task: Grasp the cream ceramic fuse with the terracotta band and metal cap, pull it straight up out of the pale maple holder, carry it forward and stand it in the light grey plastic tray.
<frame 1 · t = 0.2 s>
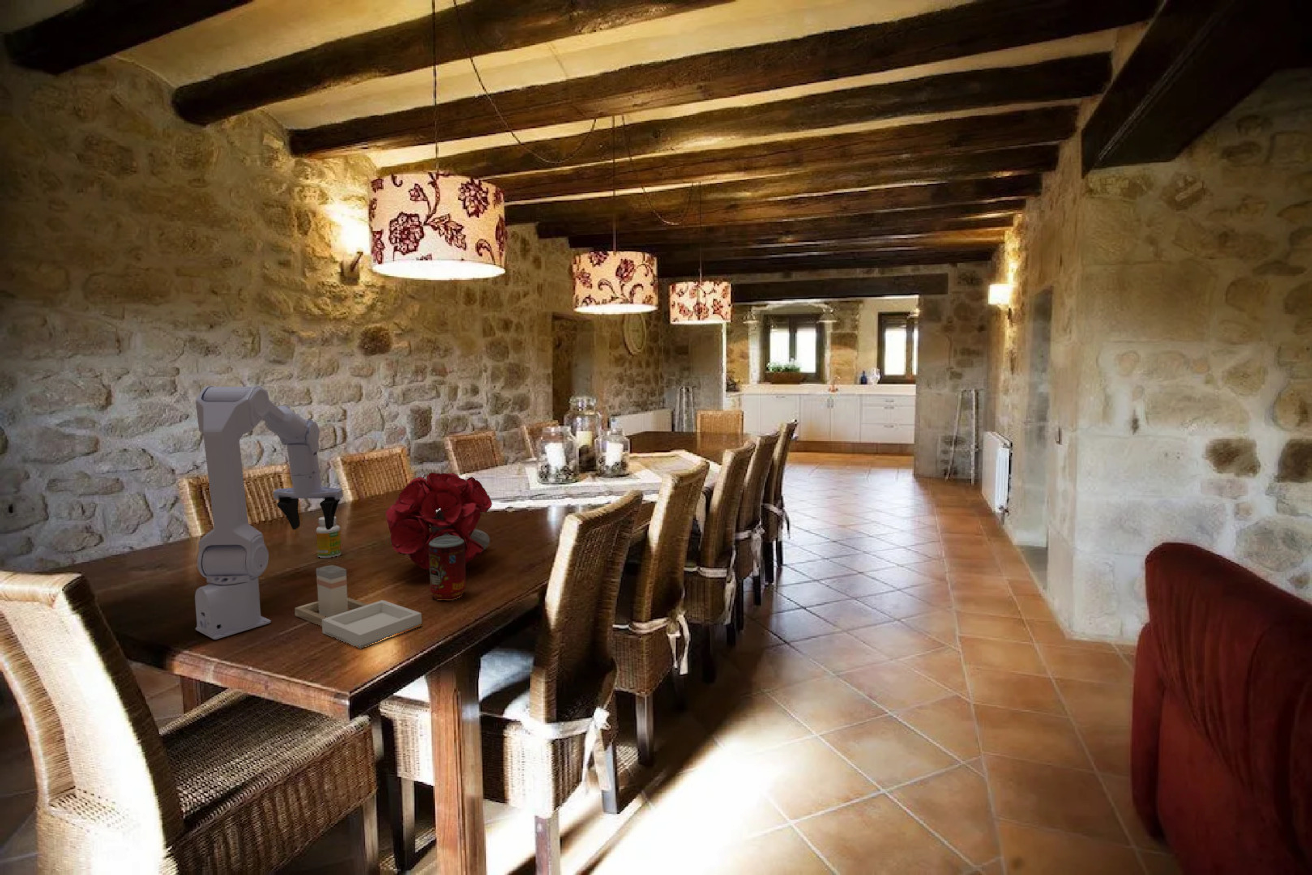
hand: (313, 527, 151), 11 cm above the table, tool pointing down, fingers open, 7 cm apart
tray: (372, 629, 119), on the table
supplement bottle: (329, 556, 166), on the table
bouquet: (451, 566, 158), on the table
holder: (333, 614, 127), on the table
soda can: (448, 597, 137), on the table
fuse: (332, 591, 126), in the holder
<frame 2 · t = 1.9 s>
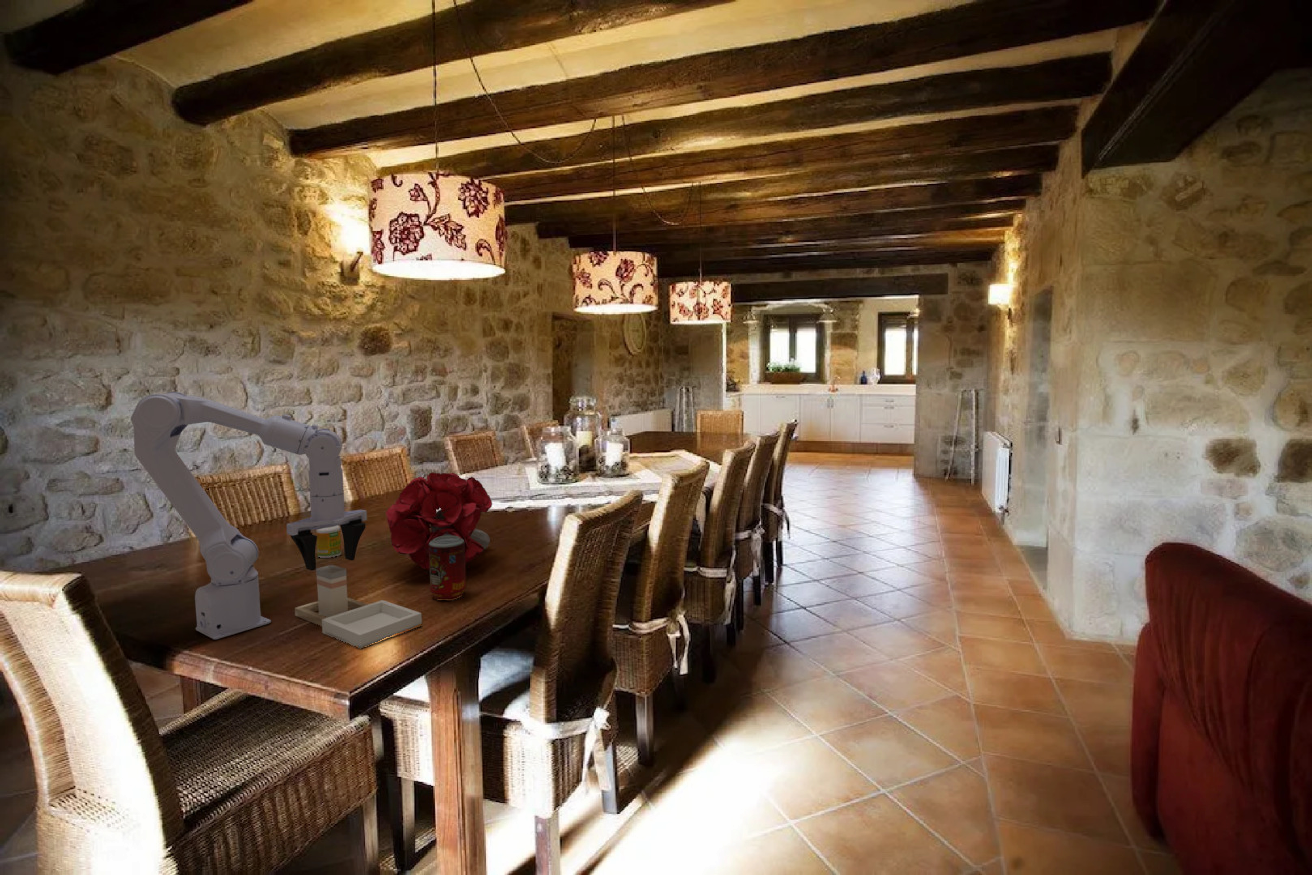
hand: (330, 564, 126), 10 cm above the table, tool pointing down, fingers open, 7 cm apart
nothing on the table moved.
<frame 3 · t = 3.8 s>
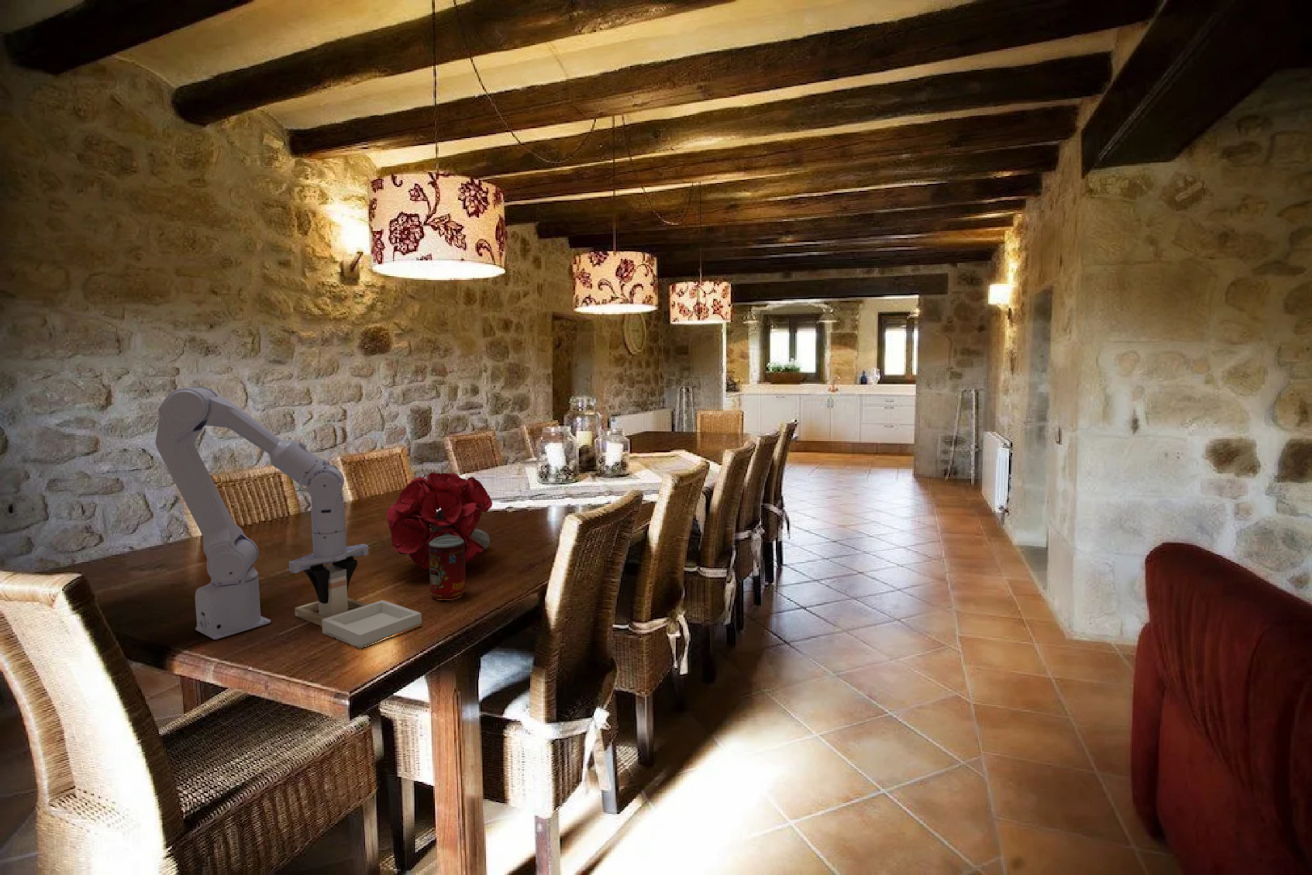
hand: (332, 599, 126), 3 cm above the table, tool pointing down, fingers closed on fuse, 3 cm apart
fuse: (332, 591, 126), in the holder, touching gripper
everything else where it was.
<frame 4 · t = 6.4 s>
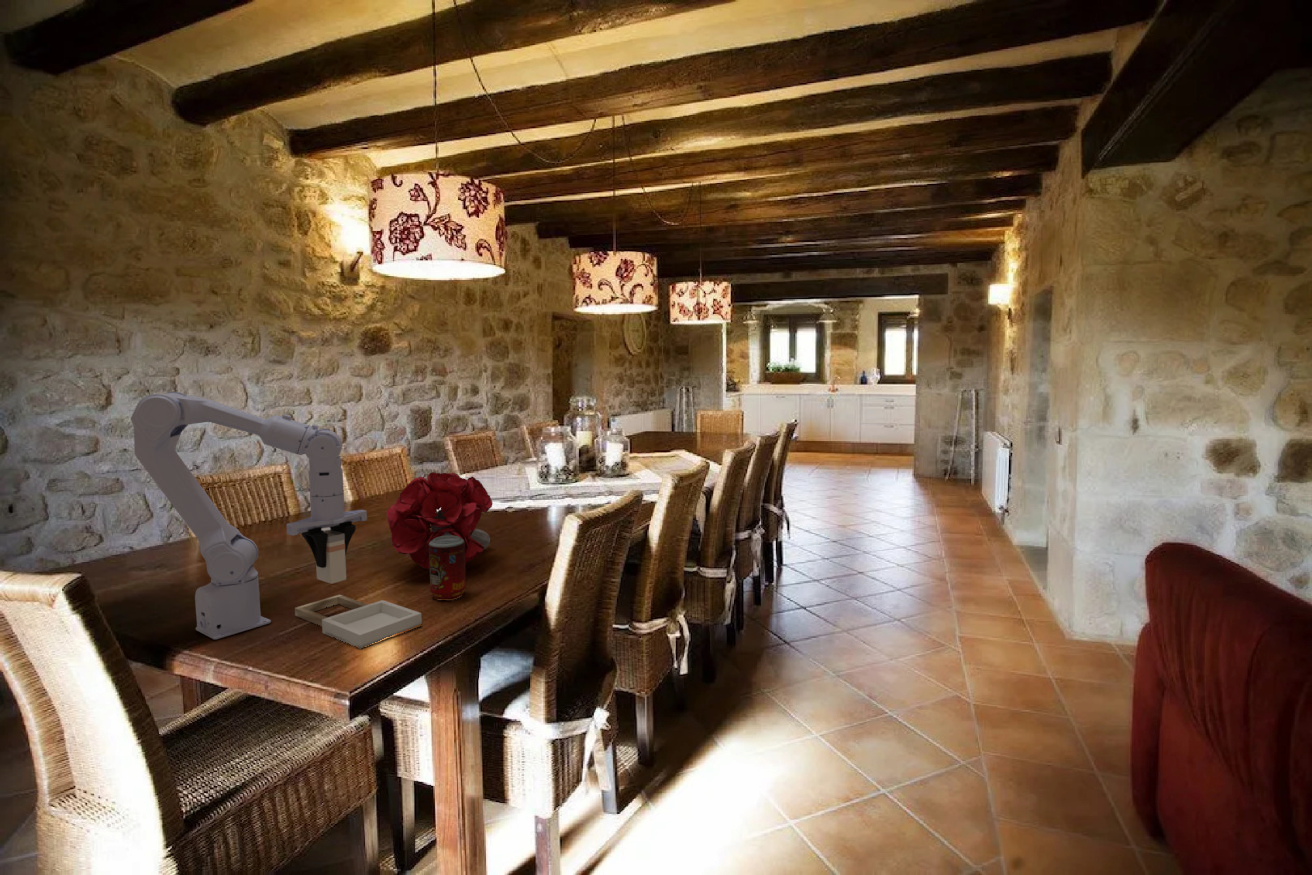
hand: (330, 564, 126), 10 cm above the table, tool pointing down, fingers closed on fuse, 3 cm apart
fuse: (330, 556, 125), point 12 cm above the table, touching gripper
everything else where it was.
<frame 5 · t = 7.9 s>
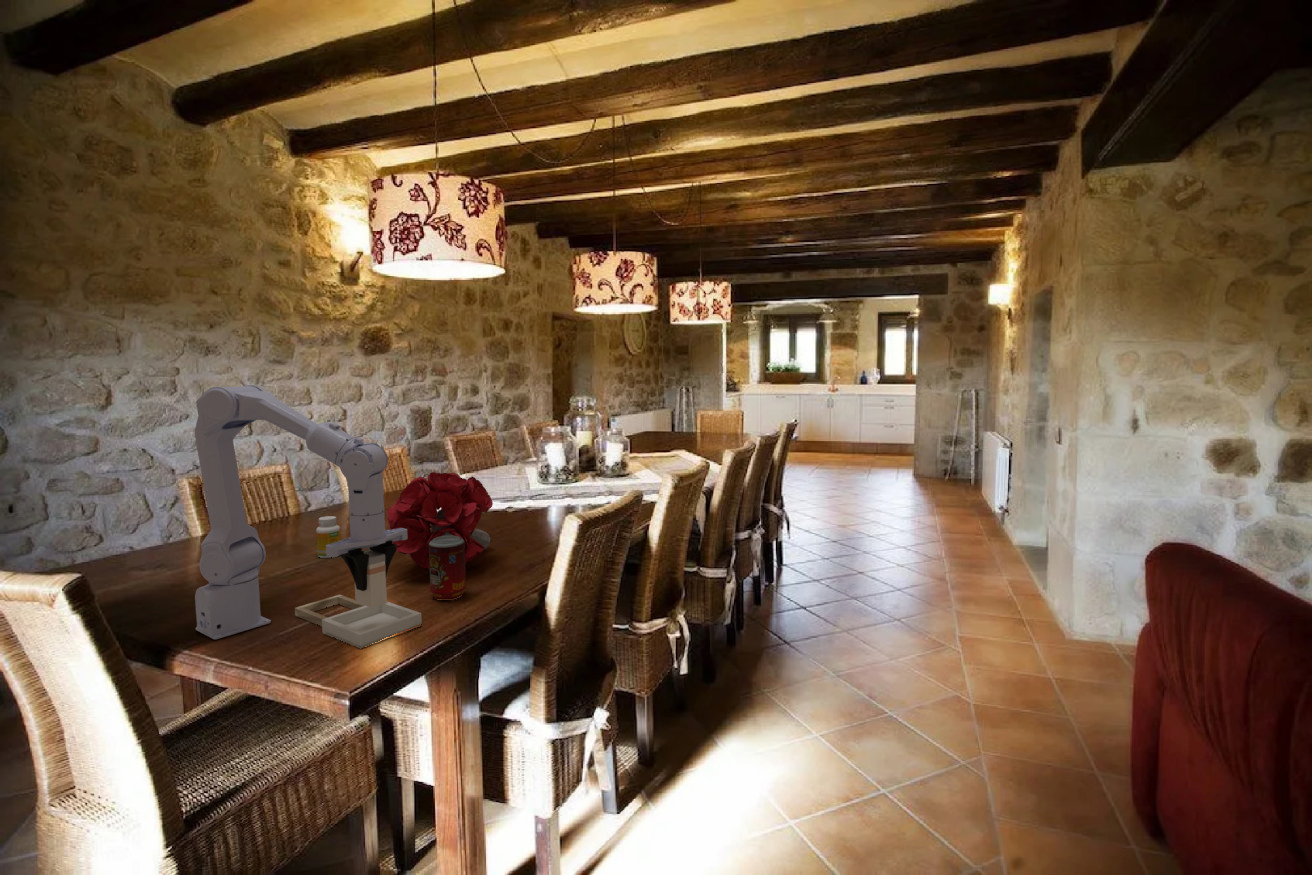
hand: (370, 586, 118), 8 cm above the table, tool pointing down, fingers closed on fuse, 3 cm apart
fuse: (370, 578, 118), point 10 cm above the table, touching gripper
everything else where it was.
when the fingers open (5 cm above the table, at t = 9.2 s): fuse drops 1 cm, resting on tray.
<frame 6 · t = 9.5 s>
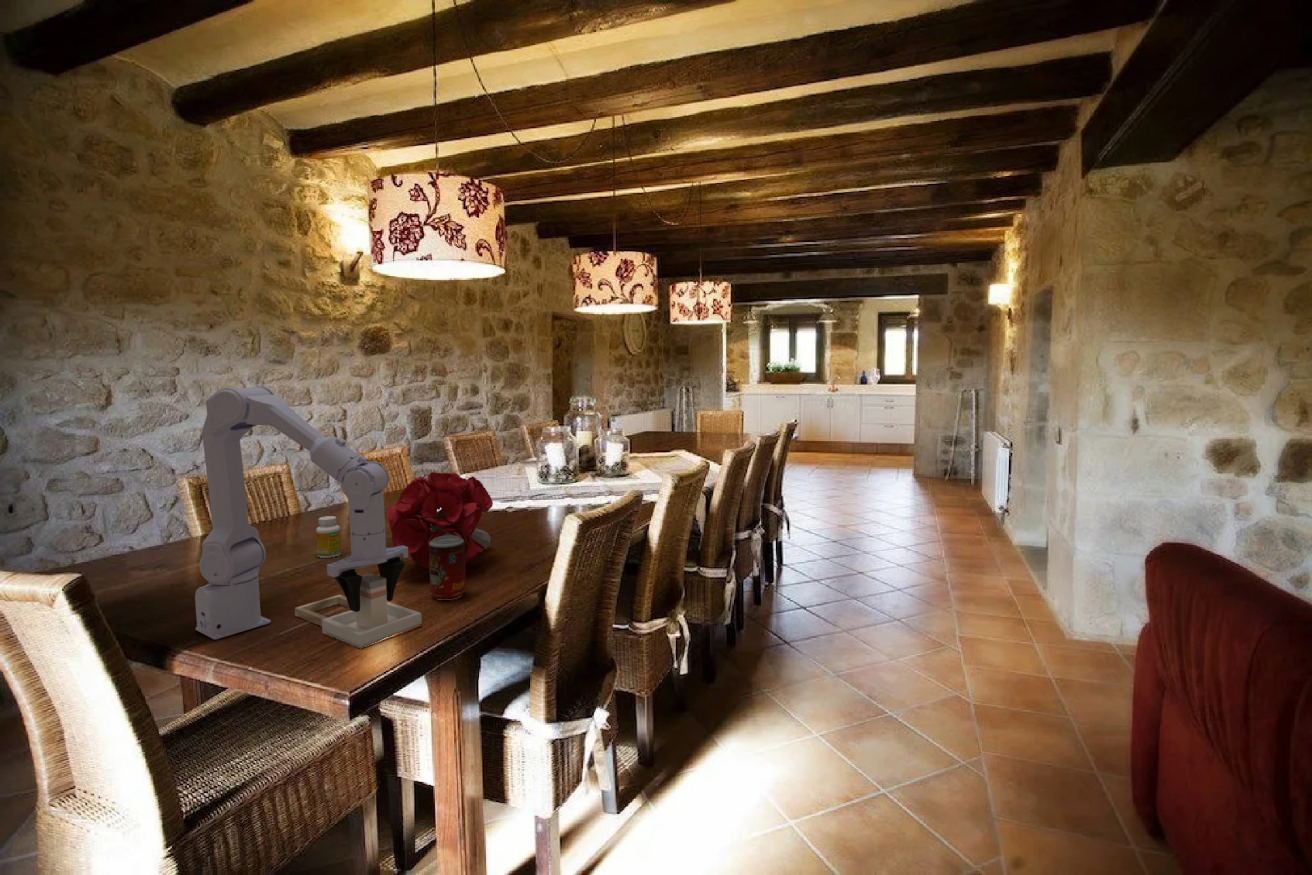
hand: (371, 605, 119), 5 cm above the table, tool pointing down, fingers open, 6 cm apart
fuse: (371, 602, 119), in the tray, point 5 cm above the table
everything else where it was.
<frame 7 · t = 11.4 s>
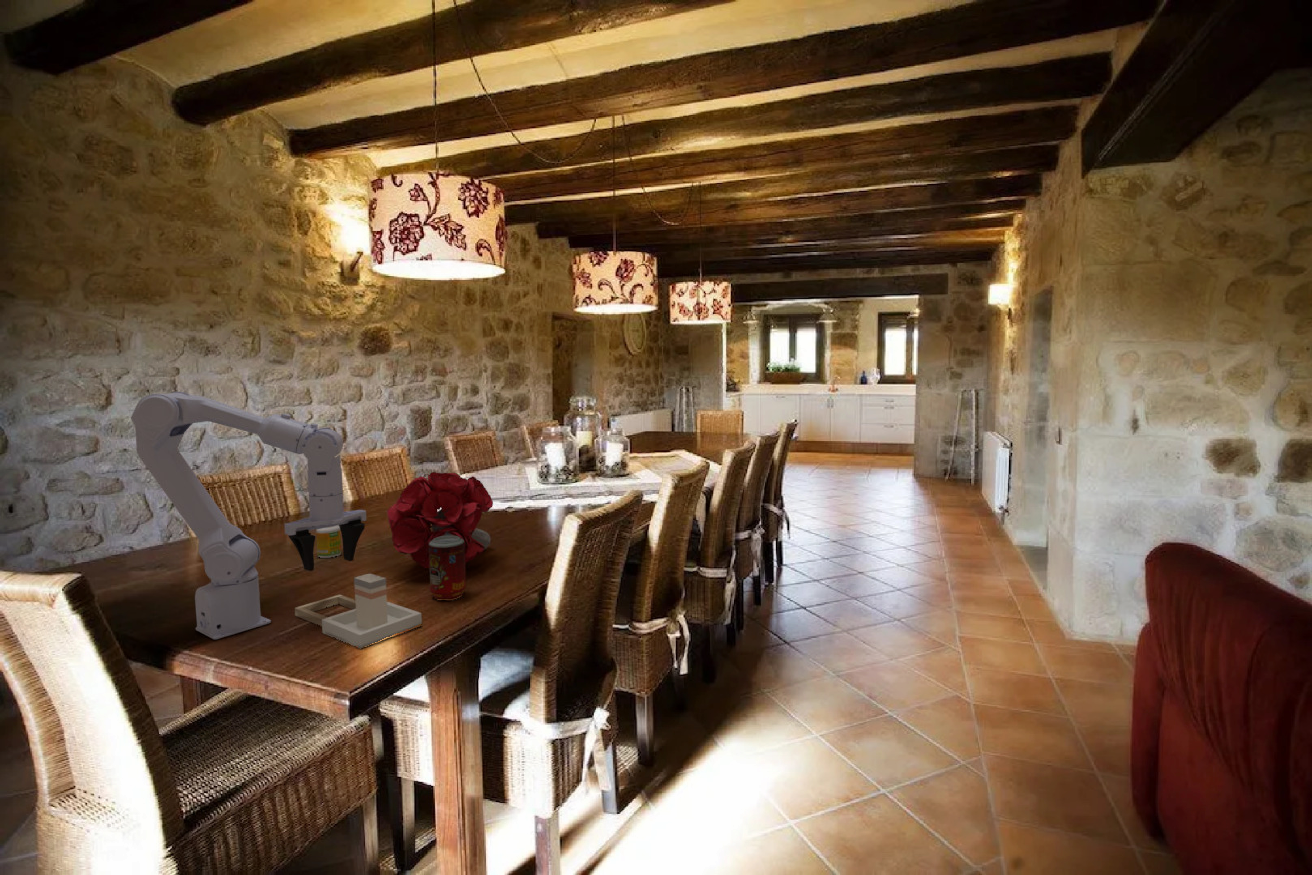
hand: (329, 564, 124), 10 cm above the table, tool pointing down, fingers open, 7 cm apart
nothing on the table moved.
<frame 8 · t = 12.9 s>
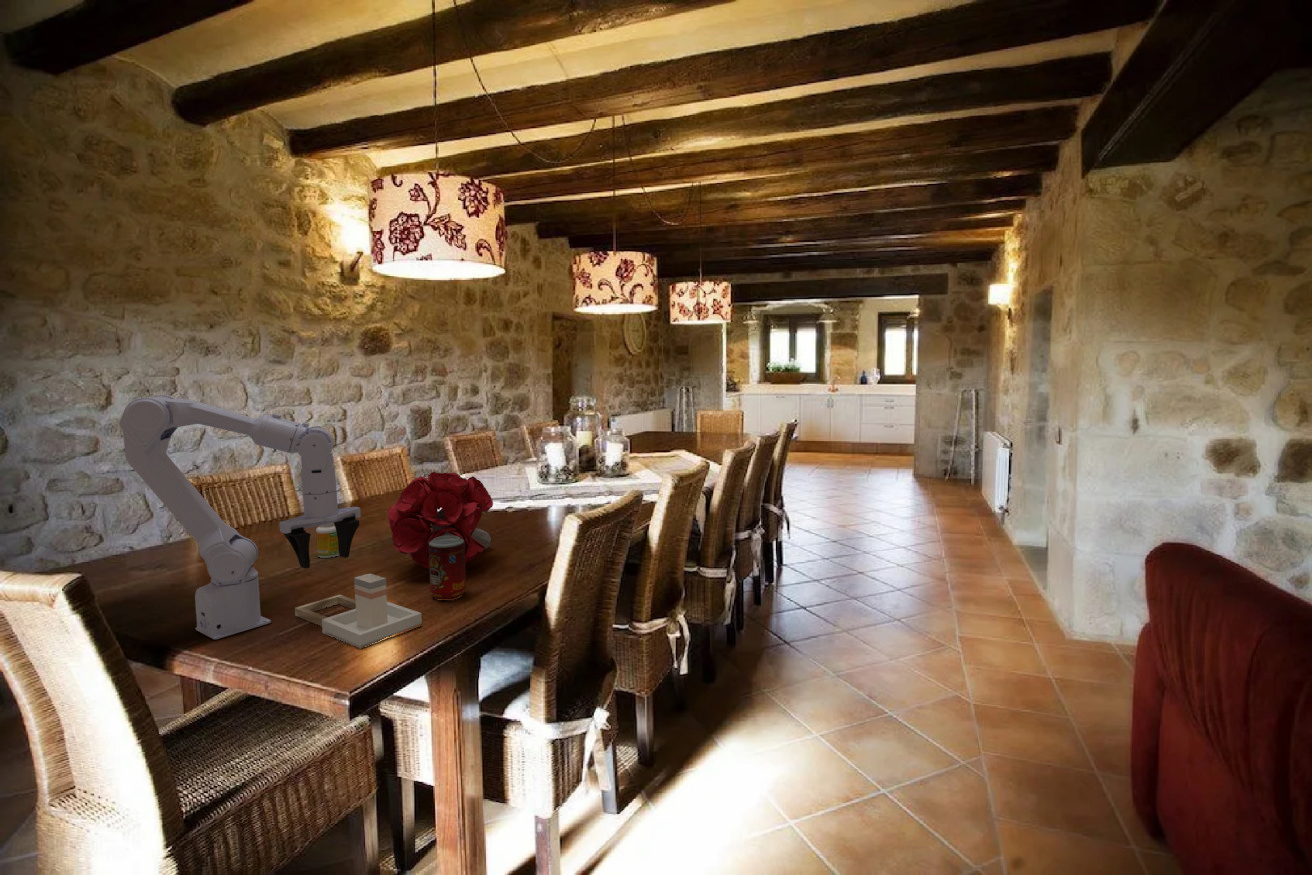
hand: (325, 561, 125), 10 cm above the table, tool pointing down, fingers open, 7 cm apart
nothing on the table moved.
at the end: fuse 0.2 cm off-centre on the tray, point 5.1 cm above the tray's base; fuse tilted 0°; the gripper is holding nothing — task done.
